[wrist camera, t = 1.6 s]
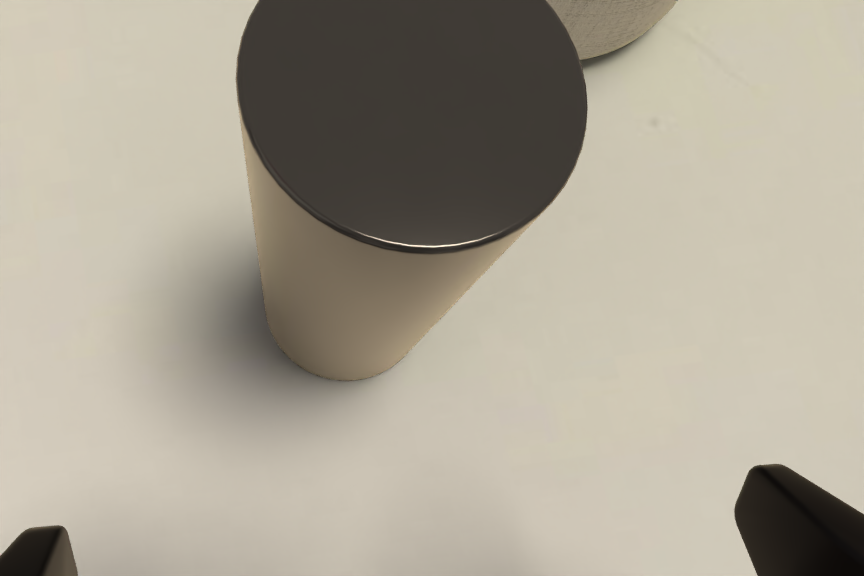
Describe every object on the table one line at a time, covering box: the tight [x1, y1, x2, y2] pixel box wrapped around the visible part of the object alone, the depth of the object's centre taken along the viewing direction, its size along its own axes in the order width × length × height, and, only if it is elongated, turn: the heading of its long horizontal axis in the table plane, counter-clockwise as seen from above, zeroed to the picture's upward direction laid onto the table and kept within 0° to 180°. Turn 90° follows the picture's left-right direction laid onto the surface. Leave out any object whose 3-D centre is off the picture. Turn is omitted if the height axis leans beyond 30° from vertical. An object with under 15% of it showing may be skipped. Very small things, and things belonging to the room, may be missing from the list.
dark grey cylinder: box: [236, 0, 587, 381], centre depth 16 cm, size 5×5×13 cm
